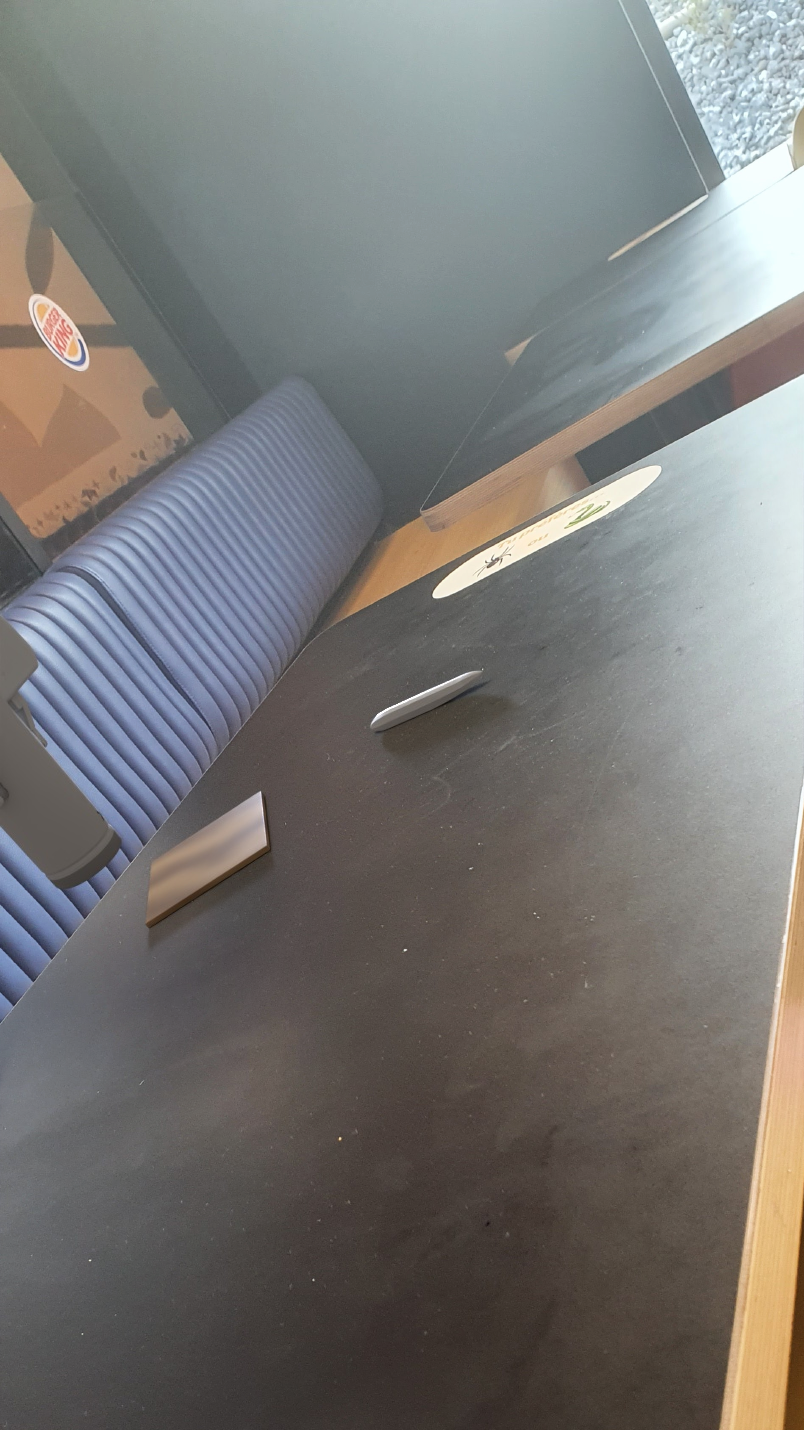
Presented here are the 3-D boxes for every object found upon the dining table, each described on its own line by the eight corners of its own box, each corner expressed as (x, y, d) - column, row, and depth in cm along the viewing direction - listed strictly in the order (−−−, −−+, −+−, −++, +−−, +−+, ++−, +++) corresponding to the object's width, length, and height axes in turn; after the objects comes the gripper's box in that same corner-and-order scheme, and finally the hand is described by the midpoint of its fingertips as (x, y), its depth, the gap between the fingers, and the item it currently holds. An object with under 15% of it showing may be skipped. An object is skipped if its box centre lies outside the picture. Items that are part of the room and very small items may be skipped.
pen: (488, 685, 113) (479, 671, 112) (371, 736, 118) (363, 724, 118) (490, 677, 114) (482, 664, 113) (375, 728, 120) (366, 716, 119)
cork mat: (154, 865, 123) (151, 861, 122) (264, 794, 122) (260, 790, 122) (148, 928, 110) (144, 924, 110) (270, 849, 109) (266, 845, 109)
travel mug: (136, 825, 92) (-37, 617, 82) (103, 877, 87) (-86, 661, 77) (79, 848, 95) (-96, 649, 85) (44, 900, 90) (-147, 694, 80)
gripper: (-79, 590, 90) (40, 729, 96) (-229, 713, 73) (-73, 872, 79) (-20, 553, 87) (97, 698, 94) (-160, 671, 71) (-5, 838, 77)
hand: (19, 779), depth 86 cm, fingers closed on travel mug, 6 cm apart
